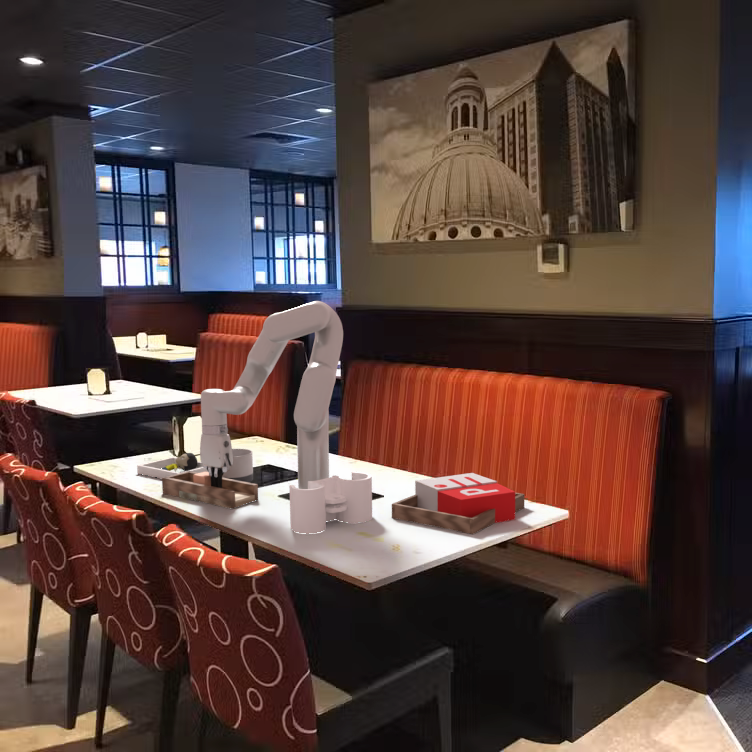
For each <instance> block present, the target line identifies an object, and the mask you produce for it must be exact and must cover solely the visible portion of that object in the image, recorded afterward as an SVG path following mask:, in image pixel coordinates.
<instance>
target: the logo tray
mask: <svg viewBox="0 0 752 752" xmlns="http://www.w3.org/2000/svg"><path fill="white" fill-rule="evenodd" d="M524 508H525V494H524V493H522V492H521V493H520V492H515V513H517V512H519V511H520V510H522V509H524ZM391 519H396V520H401V521H407V522H410V523H414V524H415V523H416V524H421V525H426V526H430V527H436V528H441V529H444V530H445V529H446V530H450V531H455V532H459V533H460V532H461V533H465V534H469V535H474V534H477V533H478V532H480V531H482V530H484V529H486V528H488V527H490V526H492V525H494V524H496V523H495V509H489V510H487V511H485V512H483V513H481V514H479V515H477V516H474V517H472V518H470V517H464V516H459V515H454V514H449V513H443V512H438V511H433V510H427V509H422V508H417V495H416V494H414V495H411V496H409V497H406V498H402V499H401V500H399V501H396V502H393V503H392V504H391Z"/></svg>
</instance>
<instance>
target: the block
mask: <svg viewBox="0 0 752 752" xmlns="http://www.w3.org/2000/svg"><path fill="white" fill-rule="evenodd" d="M193 481H194V483H198V484H203V485H208V486H211V476H209V472H202V473H198V474H194V475H193Z"/></svg>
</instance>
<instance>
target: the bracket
mask: <svg viewBox="0 0 752 752" xmlns="http://www.w3.org/2000/svg"><path fill="white" fill-rule="evenodd" d="M372 484H373V479H372V474H371V473H367V472H362V471H361V472H360V471H351V479H346V478H340V477H339V476H338V475H332V476H331V477H329V478H326V479H321V480H316V481H308V489H299V488H298V487H296V485H295V484H289V486H288V487H289V514H290V515H289V516H290V518H289V519H290V530H291V529H293V530H292V531H295V532H299V533H306V534H309V533H317V532H321V531H323V530H325V529H326V530H327V525H326V524H327V523H326V521H330V520H334V519H337V520H339V521H343V522H348V523H347V524H359V523H358V522H363V523H366V522H365V521H367V522H369V520H370V521H372V519H373V488H372V487H373V485H372ZM337 520H336V521H337ZM339 521H338V522H339ZM343 522H342V523H343ZM326 530H325V531H326ZM295 532H294V533H295ZM321 533H322V532H321Z"/></svg>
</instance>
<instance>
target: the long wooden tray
mask: <svg viewBox="0 0 752 752" xmlns="http://www.w3.org/2000/svg"><path fill="white" fill-rule="evenodd" d="M182 472H183V473H181V472H178V473H179V474H175V475H171V476H167V477H163V478H162V479H161V488H162V494H163V495H169V496H173V497H178V498H183V499H186V500H192V501H195V502H199V501H200V502H199V503H203V502H204V504H207V505H214V506H218V507H222V508H227V509H230V508H231V510H233V509H235V507H236V508H239V507H242V506H244V505H243V504H245V505H247V504H246V503H249V502H252V501H255V500H258V501H259V485H258V483H253V482H249V483H248V482H243V481H238V480H233V479H228V478H223V477H222V488H217V487H212V486H208V485H203V484H198V483H194V481H193V475H194V474H198V473H197V472H192V471H187V472H185V471H182ZM255 502H256V501H255ZM252 503H253V502H252ZM249 504H250V503H249ZM241 505H242V506H241ZM238 506H239V507H238Z"/></svg>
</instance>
